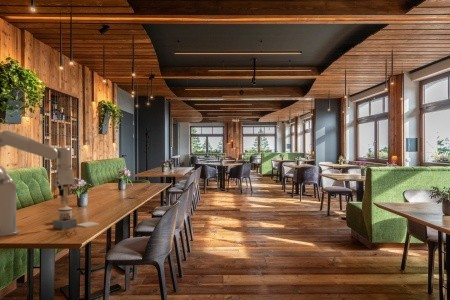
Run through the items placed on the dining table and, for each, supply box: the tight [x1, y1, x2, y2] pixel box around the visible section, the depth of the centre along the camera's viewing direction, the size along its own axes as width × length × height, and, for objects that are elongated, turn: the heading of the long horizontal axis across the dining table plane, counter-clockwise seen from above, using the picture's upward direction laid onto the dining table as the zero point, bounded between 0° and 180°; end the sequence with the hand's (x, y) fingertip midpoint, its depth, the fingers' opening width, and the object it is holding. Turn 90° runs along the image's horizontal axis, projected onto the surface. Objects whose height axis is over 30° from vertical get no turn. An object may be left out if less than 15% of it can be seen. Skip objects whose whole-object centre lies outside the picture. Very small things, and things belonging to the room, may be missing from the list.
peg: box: [60, 185, 69, 205], centre depth 230 cm, size 5×5×12 cm
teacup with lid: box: [57, 204, 78, 219], centre depth 249 cm, size 12×9×12 cm
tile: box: [77, 221, 100, 228], centre depth 237 cm, size 10×10×1 cm
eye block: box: [52, 218, 78, 231], centre depth 231 cm, size 10×10×5 cm
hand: (64, 195), depth 230 cm, fingers closed on peg, 3 cm apart
